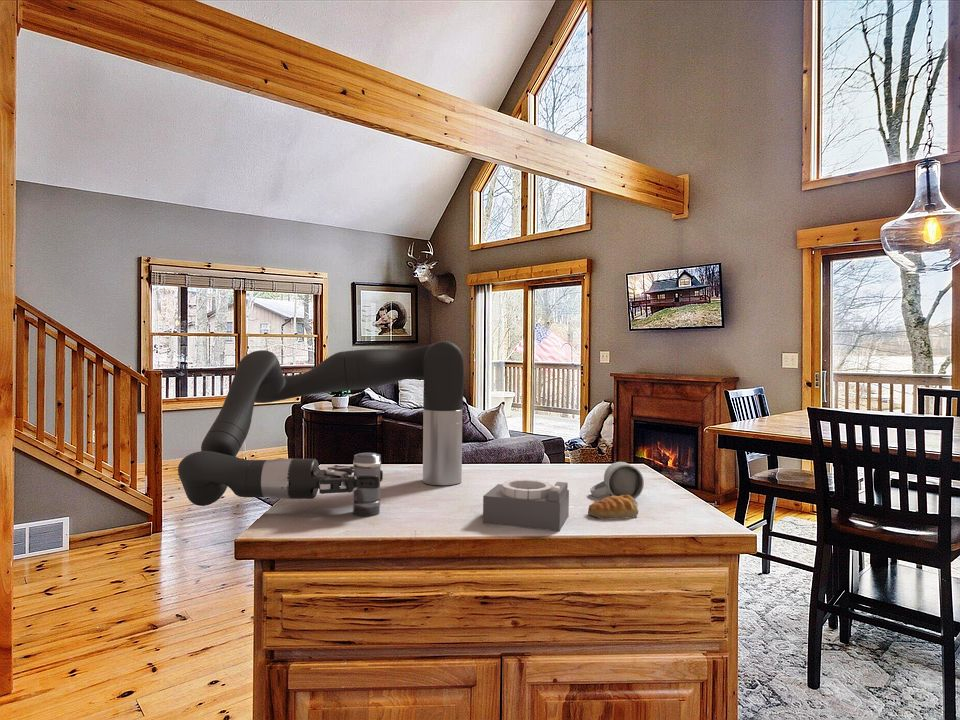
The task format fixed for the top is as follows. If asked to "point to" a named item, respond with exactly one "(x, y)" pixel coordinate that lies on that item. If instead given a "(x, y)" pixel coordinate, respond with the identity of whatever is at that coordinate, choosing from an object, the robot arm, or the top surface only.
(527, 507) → the grey socket block
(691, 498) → the top surface
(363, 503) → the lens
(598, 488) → the ceramic mug
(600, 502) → the pastry
